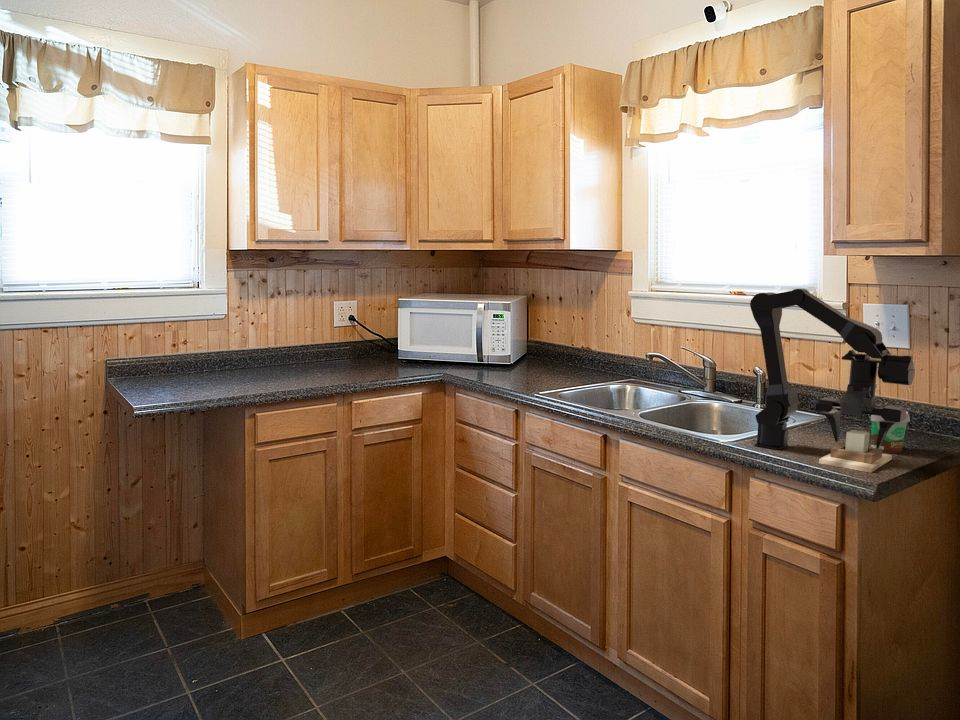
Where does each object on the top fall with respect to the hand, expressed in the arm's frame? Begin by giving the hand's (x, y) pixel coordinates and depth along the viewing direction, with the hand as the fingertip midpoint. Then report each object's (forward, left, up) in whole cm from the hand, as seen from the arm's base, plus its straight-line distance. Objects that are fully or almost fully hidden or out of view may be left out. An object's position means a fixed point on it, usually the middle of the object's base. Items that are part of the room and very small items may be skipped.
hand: (857, 444), depth 186 cm
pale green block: (0, 0, -3) cm, 3 cm away
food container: (+4, +18, -4) cm, 19 cm away
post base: (0, 0, -4) cm, 4 cm away
